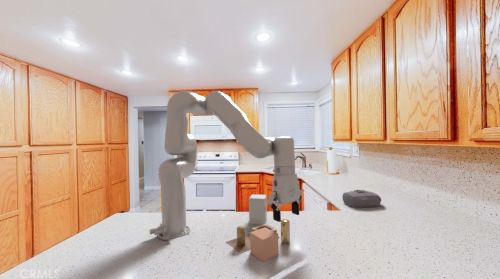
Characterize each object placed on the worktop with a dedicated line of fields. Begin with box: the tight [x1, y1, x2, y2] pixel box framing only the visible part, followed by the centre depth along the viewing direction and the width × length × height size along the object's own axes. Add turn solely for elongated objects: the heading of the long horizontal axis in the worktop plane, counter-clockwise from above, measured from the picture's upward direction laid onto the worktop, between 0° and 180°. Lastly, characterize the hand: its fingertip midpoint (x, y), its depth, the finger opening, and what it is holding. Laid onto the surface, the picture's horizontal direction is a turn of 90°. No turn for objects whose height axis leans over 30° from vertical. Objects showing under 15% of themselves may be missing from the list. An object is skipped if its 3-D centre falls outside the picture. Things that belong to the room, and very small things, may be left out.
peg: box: [280, 218, 291, 245], centre depth 77 cm, size 3×3×9 cm
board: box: [225, 223, 281, 254], centre depth 80 cm, size 18×10×7 cm, turn 127°
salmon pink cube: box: [249, 227, 279, 262], centre depth 70 cm, size 7×7×8 cm
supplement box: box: [248, 194, 268, 225], centre depth 98 cm, size 7×7×13 cm
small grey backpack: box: [342, 189, 382, 209], centre depth 123 cm, size 15×8×20 cm
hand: (286, 217), depth 77 cm, fingers open, 9 cm apart
